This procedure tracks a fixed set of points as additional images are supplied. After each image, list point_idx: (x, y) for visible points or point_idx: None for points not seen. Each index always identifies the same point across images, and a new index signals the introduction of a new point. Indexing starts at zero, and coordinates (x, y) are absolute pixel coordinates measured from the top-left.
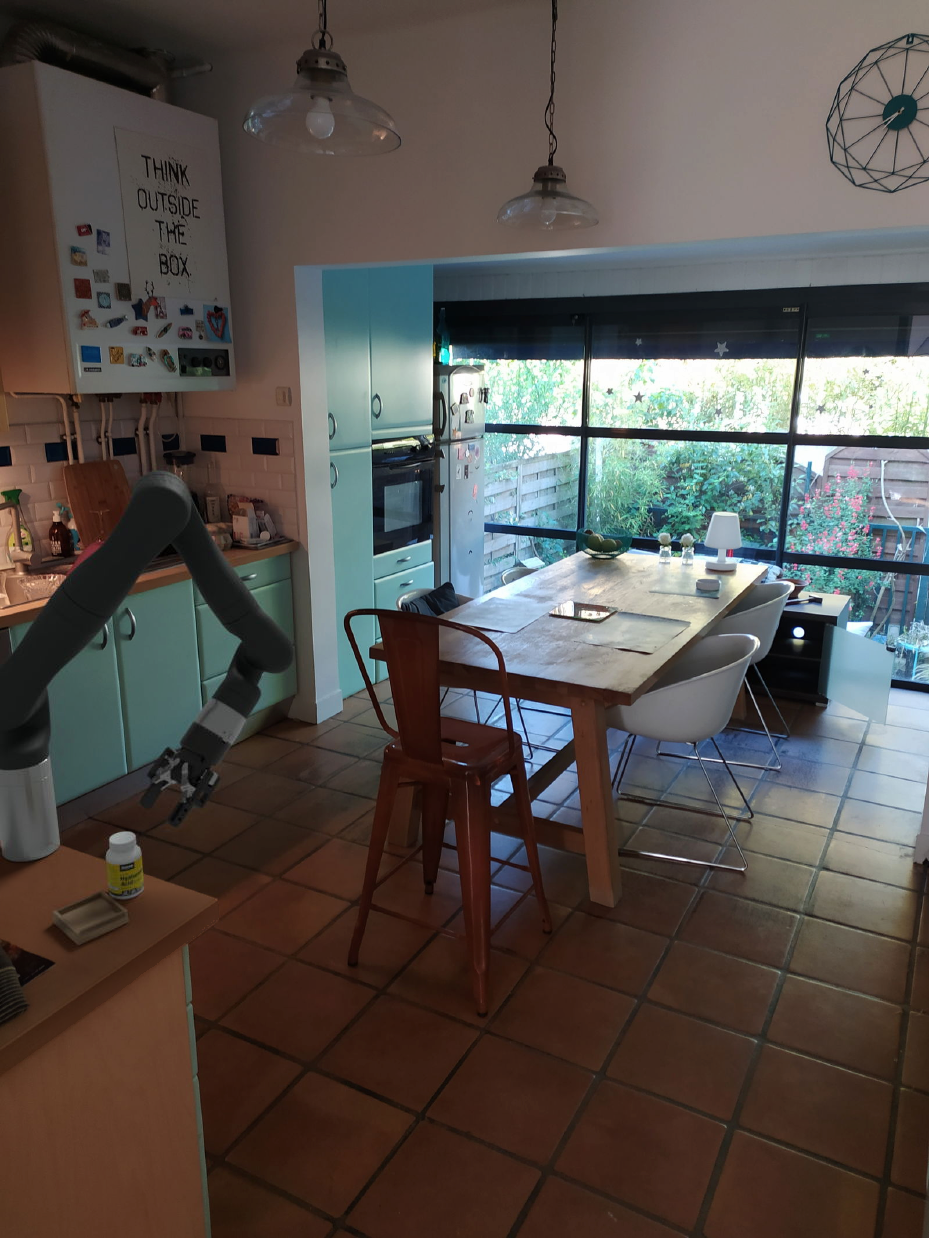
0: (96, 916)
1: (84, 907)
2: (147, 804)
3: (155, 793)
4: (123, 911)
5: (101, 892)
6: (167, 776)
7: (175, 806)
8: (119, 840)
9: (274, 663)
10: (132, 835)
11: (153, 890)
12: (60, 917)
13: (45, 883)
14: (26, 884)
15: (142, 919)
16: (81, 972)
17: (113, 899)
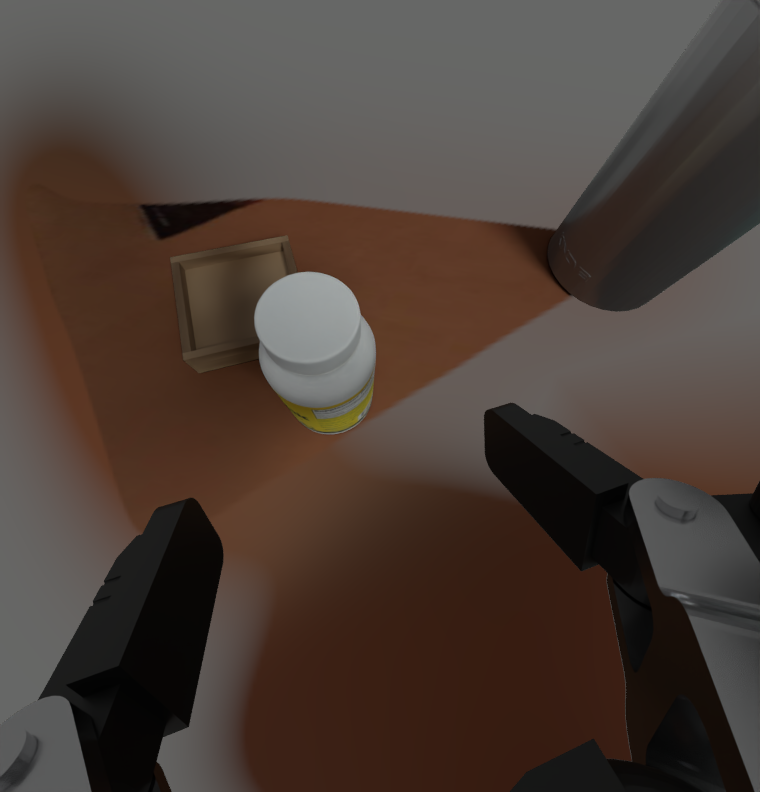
0: (232, 309)
1: None
2: (498, 450)
3: (553, 508)
4: (186, 351)
5: None
6: (691, 707)
7: (146, 603)
8: (291, 301)
9: None
10: (301, 351)
11: (298, 453)
12: (253, 243)
13: (447, 265)
14: (459, 239)
15: (189, 401)
16: (94, 267)
17: (256, 342)
